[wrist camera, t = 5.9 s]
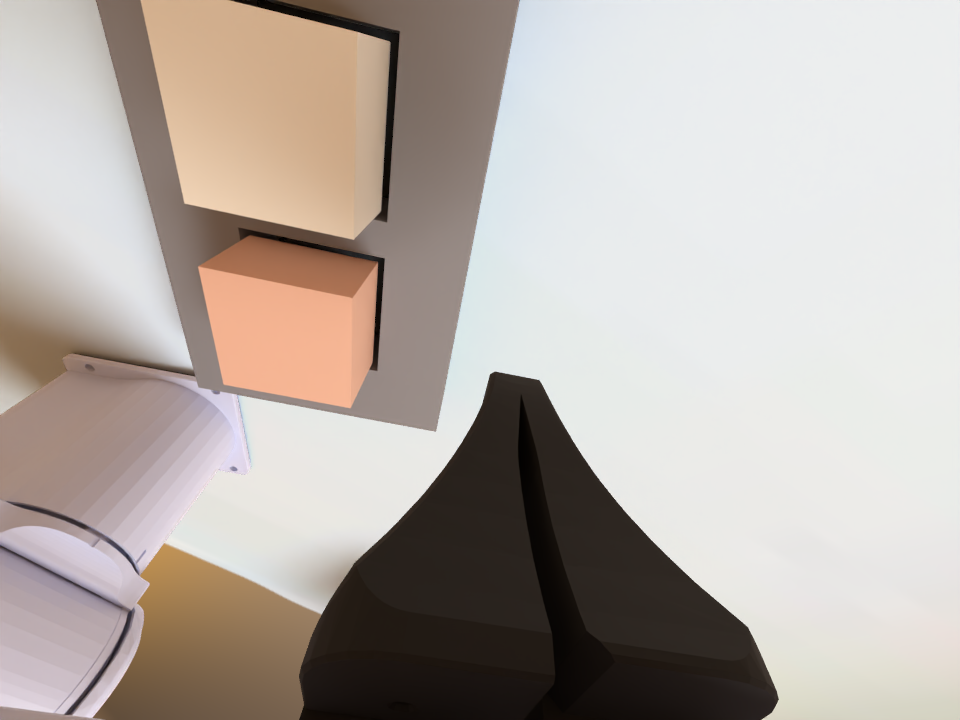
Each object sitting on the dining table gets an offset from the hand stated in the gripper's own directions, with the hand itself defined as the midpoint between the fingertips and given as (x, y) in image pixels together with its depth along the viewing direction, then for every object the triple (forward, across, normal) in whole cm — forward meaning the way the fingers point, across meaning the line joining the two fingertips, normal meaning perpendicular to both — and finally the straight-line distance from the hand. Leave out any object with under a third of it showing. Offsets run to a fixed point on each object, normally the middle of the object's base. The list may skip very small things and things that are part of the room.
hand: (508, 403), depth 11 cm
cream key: (+7, +8, -5) cm, 11 cm away
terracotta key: (+7, +8, +2) cm, 11 cm away
